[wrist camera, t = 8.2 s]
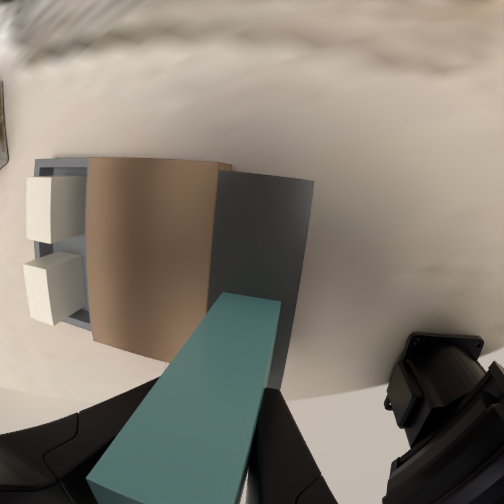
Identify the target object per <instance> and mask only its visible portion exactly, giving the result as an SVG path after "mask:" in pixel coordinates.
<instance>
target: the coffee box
mask: <svg viewBox="0 0 504 504" xmlns="http://www.w3.org/2000/svg"><path fill="white" fill-rule="evenodd" d="M7 161H8V155H7V147H6V137H5V127H4V113H3V86H2V81H1V80H0V168H1V167H3V166H4V165H5V164H6V163H7Z"/></svg>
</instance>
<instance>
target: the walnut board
mask: <svg viewBox="0 0 504 504" xmlns="http://www.w3.org/2000/svg"><path fill="white" fill-rule="evenodd" d="M219 170H222V171H231V165H229V164H224V163H219V162H207V161H193V160H176V159H154V158H117V157H89V169H88V185H87V212H86V250H87V276H88V292H89V305H90V315H91V325H92V334H93V341H96V342H99V343H102V344H105V345H109V346H112V347H115V348H118V349H121V350H125V351H128V352H131V353H135V354H138V355H142V356H145V357H149V358H152V359H156V360H160V361H164V362H168V363H171V362H172V360H173V359H174V357H175V356H176V355H177V353H178V352H179V351H180V349H181V348H182V347H183V345H184V344H185V343H186V341H187V340H188V338H189V337H190V336H191V334H192V333H193V332H194V330H195V329H196V328H197V326H198V325H199V323H200V322H201V321H202V319H203V318H204V317H205V315H206V314H207V305H208V290H209V276H210V262H211V249H212V237H213V226H214V214H215V204H216V193H217V183H218V173H219Z"/></svg>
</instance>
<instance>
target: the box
mask: <svg viewBox="0 0 504 504" xmlns="http://www.w3.org/2000/svg"><path fill="white" fill-rule="evenodd" d="M88 169H89V158H55V159H35V170H34V177H37V176H53V175H86V176H87V181H86V203H85V234H81V235H78V236H75V237H71V238H68V239H65V240H62V241H59V242H55V243H52V244H49V243H44V242H39V241H34V249H35V259H38V258H41V257H43V256H46V255H49V254H52V253H54V252H57V251H61V252H67V253H73V254H78V255H82V267H83V282H84V293H85V303H86V306H84V307H83V308H81V309H79V310H78V311H76V312H75V313H73V314H72V315H70V316H68V317H67V318H65V319H64V320H62V321H63V322H66V323H68V324H71V325H74V326H77V327H80V328H83V329H86V330H89V331H92V325H91V315H90V305H89V292H88V276H87V250H86V212H87V185H88Z"/></svg>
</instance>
